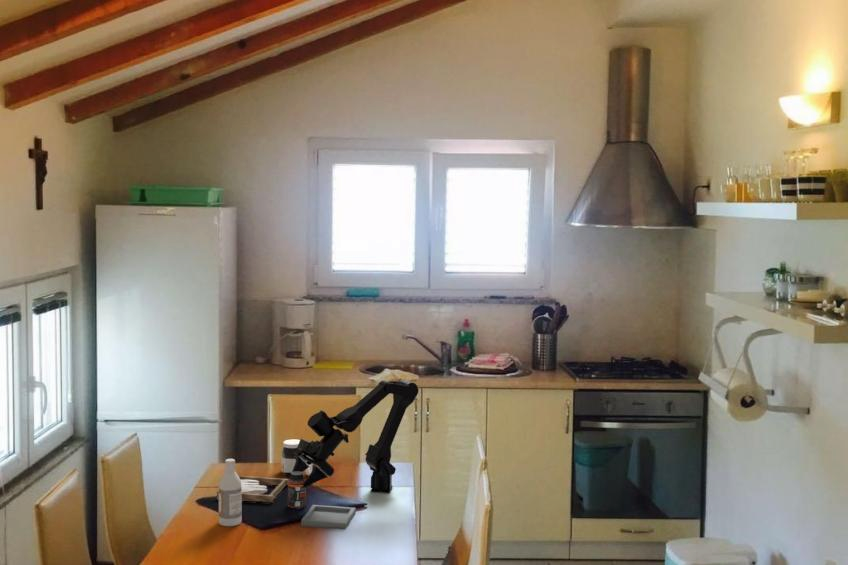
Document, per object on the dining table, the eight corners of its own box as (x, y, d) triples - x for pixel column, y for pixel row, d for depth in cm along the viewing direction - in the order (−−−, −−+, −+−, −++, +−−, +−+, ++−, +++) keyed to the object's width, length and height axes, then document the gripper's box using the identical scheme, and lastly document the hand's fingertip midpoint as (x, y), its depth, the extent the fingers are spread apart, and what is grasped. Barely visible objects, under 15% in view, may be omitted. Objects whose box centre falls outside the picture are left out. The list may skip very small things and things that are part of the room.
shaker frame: (288, 486, 321) (288, 479, 321) (272, 503, 303) (272, 496, 303) (235, 482, 323) (235, 475, 323) (217, 499, 306) (217, 492, 305)
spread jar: (280, 469, 339) (280, 438, 337) (310, 467, 342) (310, 436, 341) (285, 480, 327) (285, 448, 326) (316, 477, 331) (316, 445, 329)
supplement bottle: (302, 510, 297) (302, 476, 296) (284, 508, 299) (285, 474, 297) (308, 504, 303) (308, 470, 302) (291, 502, 304) (291, 469, 303)
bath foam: (217, 519, 288) (217, 457, 286) (240, 518, 290) (240, 455, 288) (219, 528, 281) (219, 464, 279) (242, 525, 283) (242, 462, 281)
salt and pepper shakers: (236, 502, 305) (269, 498, 309) (236, 489, 304) (270, 486, 309) (229, 490, 316) (261, 487, 320) (229, 478, 315) (262, 475, 320)
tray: (355, 513, 296) (355, 507, 296) (345, 529, 282) (345, 523, 282) (313, 510, 298) (313, 504, 298) (301, 525, 284) (301, 520, 284)
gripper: (299, 423, 309) (268, 460, 304) (326, 436, 294) (294, 476, 289) (320, 443, 314) (290, 480, 309) (347, 457, 299) (316, 496, 294)
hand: (297, 482), depth 300 cm, fingers open, 9 cm apart
